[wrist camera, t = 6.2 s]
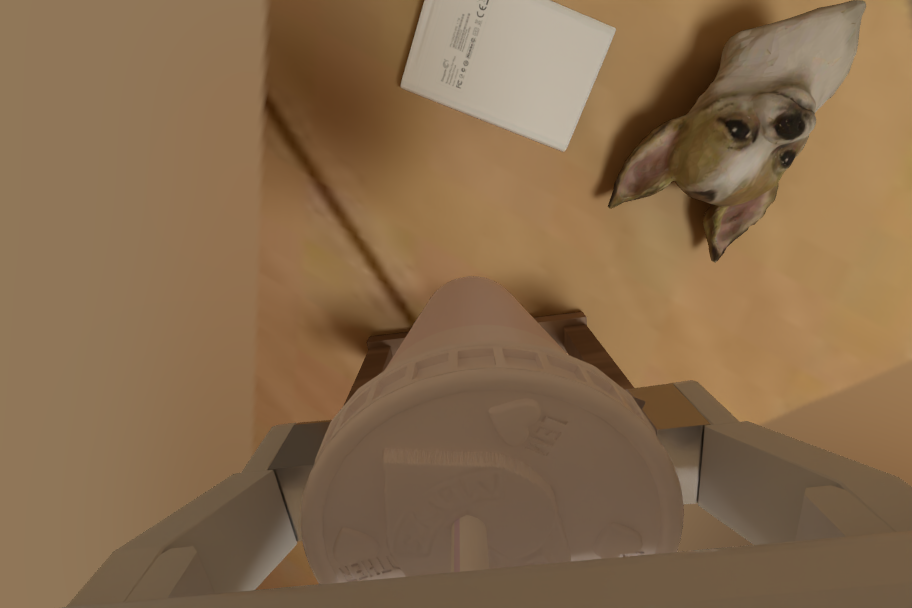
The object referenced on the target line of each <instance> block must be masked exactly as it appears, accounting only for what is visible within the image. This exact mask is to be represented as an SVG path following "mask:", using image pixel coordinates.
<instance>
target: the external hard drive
mask: <svg viewBox="0 0 912 608" xmlns="http://www.w3.org/2000/svg"><path fill="white" fill-rule="evenodd" d="M615 31H616V28H614V27H612V26H609V25H607V24H604V23H602V22H600V21H598V20H595V19H593V18H591V17H588V16H586V15H583V14H581V13H579V12H576V11H574V10H572V9H569V8H567V7H565V6H562V5H560V4H558V3H555V2H553V1H551V0H424V4H423V7H422V11H421V14H420V18H419V21H418V24H417V28H416V31H415V35H414V38H413V42H412V45H411V49H410V52H409V56H408V59H407V63H406V66H405V70H404V73H403V77H402V81H401V85H400V87H401V88H402V89H404V90H407V91H409V92H412V93H414V94H417V95H419V96H422V97H424V98H427V99H429V100H432V101H434V102H437V103H439V104H442V105H444V106H447V107H450V108H452V109H455V110H457V111H460V112H462V113H465V114H467V115H470V116H472V117H475V118H477V119H480V120H482V121H485V122H488V123H490V124H493V125H495V126H498V127H500V128H503V129H505V130H508V131H510V132H513V133H516V134H518V135H521V136H523V137H526V138H528V139H531V140H533V141H536V142H539V143H541V144H544V145H546V146H549V147H552V148H554V149H557V150H559V151H562V152H563V151H565V150H566V149H567V146H568V144H569V142H570V140H571V137H572V135H573V132H574V130H575V127H576V125H577V123H578V120H579V118H580V116H581V113H582V111H583V108H584V106H585V104H586V101H587V99H588V96H589V94H590V91H591V89H592V87H593V84H594V82H595V80H596V77H597V75H598V72H599V70H600V67H601V65H602V63H603V60H604V58H605V56H606V53H607V51H608V49H609V46H610V44H611V41H612V38H613V36H614V34H615Z"/></svg>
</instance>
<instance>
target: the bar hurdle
mask: <svg viewBox="0 0 912 608" xmlns="http://www.w3.org/2000/svg"><path fill="white" fill-rule="evenodd" d="M533 318H534V319H535V320H536V321H537V322H538V323H539V324H540V326H541V327H542V328H543V329H544V330H545V331H546V332H547V333H548V334H549V335H550V336H551V337H552V338H553V339H554V340H555V342H556V343H557V344H558V345H559V346H560V347H561V348H562V349H563V350H564V351H565V352H566V353H568V354H569V356H572V357H574V358H577V359H579V360H581V361H584V362H586V363H589V364H591V365H593V366H595V367H597V368H598V369H599V370H600V371H602V372H603V373H604V374H605V375H607V376H608V377H609V378H610V379H612V380H613V381H614V382H615V383H617V384H618V385H619V386H620V387H622V388H623V389H624V390H625V389H632V388H634V387H633V386H632V384H631V383H630V382H629V380H628V379H627V378H626V376H625V375H624V374H623V373H622V371H621V370H620V369H619V367H618V366H617V365H616V363H615V362H614V361H613V359H612V358H611V357H610V356H609V354H608V353H607V352H606V350H605V349H604V348H603V346H602V345H601V344H600V342H599V341H598V340H597V339H596V337H595V336H594V335H593V333H592V332H591V331H590V329H589V328H588V327H587V320H586V316H585V315H584V313H583V312H576V313H568V314H559V315H550V316H542V317H533ZM408 333H409V332H404V333H396V334H387V335H378V336H370V337H369V339H368V341H367V346H368V353H367V355H366V357H365V359H364V362H363V364H362V366H361V368H360V371H359V373H358V375H357V377H356V379H355V382H354V384H353V386H352V388H351V391H350V393H349V395H348V397H347V399H346V402H345V404H346V403H347V402H348V400H349V399H350V398H351V397H352V396H353V394H354V393H355V392H356V391H357V390H358V388H360V387H361V386H363V385H364V384H366V383H367V382H369V381H370V380H372V379H373V378H374V377H376V376H377V375H379V374H380V373H382V372H383V371H384V370H385V369H386V367H387V366H388V364H389V362H390V361H391V359H392V358H393V356H394V355H395V353H396V351H397V350H398V348H399V347H400V345H401V344H402V342H403V340H404V339H405V337H406V336H407V334H408ZM345 404H344V405H345Z"/></svg>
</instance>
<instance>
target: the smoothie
mask: <svg viewBox="0 0 912 608" xmlns="http://www.w3.org/2000/svg"><path fill="white" fill-rule="evenodd" d="M683 516H684V509H683V496H682V491H681V486H680V482H679V479H678V476H677V473H676V470H675V467H674V465H673V463H672V461H671V459H670V457H669V455H668V453H667V451H666V450H665V448H664V447H663V445H662V444H661V442H660V441H659V439H658V438H657V436H656V432H655V429H654V428H653V426H652V425H651V423H650V422H649V421H648V419H647V418H646V416H645V415H644V413H643V412H642V410H641V409H640V407H639V406H638V404H637V403H636V401H635V400H634V398H633V397H632V396H631V394H629V393H628V392H627V391H626V390H624V389H623V388H622V387H620V386H619V385H618V384H617V383H615V382H614V381H613V380H612V379H610V378H609V377H608V376H607V375H605V374H604V373H603V372H602V371H600V370H599V369H598V368H597V367H595V366H593V365H591V364H589V363H586V362H584V361H581V360H579V359H577V358H574V357H572V356H569V355H568V354H567V353H566V352H565V351H564V350H563V349H562V348H561V347H560V346H559V345H558V344H557V343H556V342H555V340H554V339H553V338H552V337H551V336H550V335H549V334H548V333H547V332H546V331H545V330H544V329H543V328H542V327H541V326H540V324H539V323H538V322H537V321H536V320H535V319H534V318H533V317H532V316H531V315H530V314H529V313H528V312H527V311H526V310H525V308H524V307H523V306H522V305H521V304H520V303H519V302H518V301H517V300H516V299H515V298H514V297H513V296H512V295H511V293H510V292H509V291H508V290H507V289H505V288H504V287H503V286H502V285H500V284H498V283H497V282H495V281H492V280H490V279H487V278H483V277H474V276H473V277H462V278H458V279H455V280H452V281H450V282H448V283H446V284H445V285H443V286H442V287H440V288H439V289H438V290H437V291H436V292H435V293H434V294H433V295H432V297H431V298H430V300H429V301H428V303H427V304H426V306H425V308H424V309H423V311H422V312H421V314H420V315H419V317H418V319H417V320H416V322H415V323H414V325H413V326H412V328H411V330H410V331H409V333H408V334H407V336H406V337H405V339H404V340H403V342H402V344H401V345H400V347H399V348H398V350H397V351H396V353H395V355H394V356H393V358H392V359H391V361H390V362H389V364H388V366H387V367H386V369H385V370H384V371H383V372H382V373H380V374H379V375H377V376H376V377H374V378H373V379H372V380H370V381H369V382H367V383H366V384H364V385H363V386H361V387H360V388H358V390H357V391H356V392H355V393H354V394H353V396H352V397H351V398H350V399H349V400H348V402H347V403H346V404H345V405H344V406H343V408H342V409H341V410H340V411H339V412H338V414H337V415H336V416H335V417H334V418H333V420H332V421H331V422H330V424H329V427H328V429H327V431H326V434H325V436H324V439H323V441H322V444H321V446H320V449H319V451H318V454H317V456H316V458H315V464H314V466H313V468H312V470H311V472H310V475H309V478H308V481H307V484H306V486H305V490H304V494H303V499H302V505H301V518H300V520H301V535H302V540H303V546H304V550H305V553H306V556H307V560H308V562H309V565H310V567H311V569H312V571H313V574H314V576H315V577H316V579H317V581H318V582H319V584H330V583H341V582H352V581H363V580H374V579H385V578H396V577H407V576H418V575H429V574H441V573H452V572H462V571H473V570H484V569H495V568H506V567H516V566H527V565H538V564H549V563H560V562H571V561H582V560H593V559H604V558H615V557H626V556H638V555H649V554H660V553H671V552H677V550H678V546H679V543H680V539H681V534H682V529H683Z"/></svg>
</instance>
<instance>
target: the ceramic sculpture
mask: <svg viewBox="0 0 912 608" xmlns="http://www.w3.org/2000/svg"><path fill="white" fill-rule="evenodd" d="M865 8H866V3H865V2H864V1H860V0H853V1H849V2H845V3H841V4H837V5H832V6H826V7H821V8H817V9H814V10H812V11H809V12H806V13H803V14H801V15H798V16H795V17H792V18H788V19H785V20H782V21H778V22H775V23H771V24H768V25H764V26H760V27H757V28H753V29H748V30H744V31H741V32H739V33H737V34H735V35H734V36H732V37H731V38H730V39H729V40H728V41H727V42H726V43H725V46H724V48H723V52H722V56H721V63H720V69H719V71H718V74H717V76H716V78H715V80H714V81H713V82H712V83H711V84H710V85H709V88H708V89H707V90H706V91H705V92H704V93H703V94H702V95H701V96H700V97H699V98H698V100H697V102H696V104H695V105H694V106H693V107H692V109H691V110H690V111H689V112H688V114H687V115H684V116H682V117H679V118H676V119H672V120H669V121H667V122H665V123H664V124H662V125H660V126H659V127H657V128H656V129H654V130H653V131H652V132H651V133H650V134H649V135H648V136H647V137H646V138H645V139H644V140H643V141H642V142H641V143H640V144H639V145H638V146H637V147H636V148H635V149H634V151H633V152H632V154H631V155H630V156H629V157H628V159H627V160H626V162H625V164H624V166H623V168H622V169H621V171H620V173H619V175H618V177H617V180H616V182H615V184H614V189H613V192H612V196H611V199H610V202H609V205H608V207H609V208H610V209H611V208H614V207H616V206H618V205H620V204H621V203H623V202H627V201H632V200H636V199H640V198H644V197H648V196H651V195H653V194H655V193H657V192H659V191H661V190H663V189H664V188H665V187H667V186H668V185H669V184H670V183H671V182H672V181H676V183H677V185H678V186H679V187H680V188H681V189H682V190H683V191H684V192H685V193H686V194H687V195H689V196H690V197H691V198H694V199H698V200H701V201H704V202H707V203H710V204H711V206H710V207H709V208H708V210H707V211H706V213H705V215H704V218H703V226H704V230H705V235H706V238H707V242H708V245H709V253H710V258H711V260H712V261H713V262H715V263H716V262H717V261H718V260H719V258H720V257H721V256H722V255H723V253H724V251H725V250H726V248H727V247H728V246H729V245H730V244H731V243H732V242H733V241H734V240H735V239H737V238H738V237H739V236H741V235H742V234H743V233H744V232H745V231H747V230H748V227H749V226H751V225H754V224H755V223H756V222H757V221H758V220H759V219H761V218H762V217H763V216H764V214H765V212H766V209H767V208H768V207H769V205H770V204H771V203H772V202H774V200H775V198H776V193H777V189H778V182H779V180H780V178H781V177H782V175H783V173H784V172H785V171H786V169H788V168H789V167H790V165H791V164H792V162H793V160H794V158H795V157H796V156H797V155H798V154H799V153H800V152H801V151H802V149H803V148H804V146H805V144H806V141H807V139H808V137H809V133H810V132H811V131H812V130H813V129H814V126H815V124H816V117H815V112H816V111H817V110H818V109H819V108H820V107H821V106H822V105H823V104H824V103H825V102H826V101H827V100H828V99H829V98H831V97H832V96H833V95H834V93H835V92H836V90H837V89H838V87H839V86H840V85H841V83H842V82H843V81H844V79H845V78H846V76H847V74H848V73H849V71H850V68H851V65H852V62H853V59H854V57H855V55H856V52H857V46H858V39H859V30H860V23H861V18H862V15H863V13H864V10H865Z"/></svg>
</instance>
